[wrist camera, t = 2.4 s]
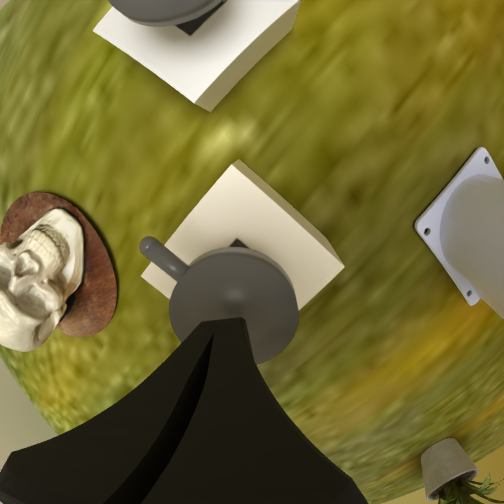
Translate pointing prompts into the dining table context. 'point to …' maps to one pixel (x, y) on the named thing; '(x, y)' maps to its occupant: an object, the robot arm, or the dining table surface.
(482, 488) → the house plant
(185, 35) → the square base with knob
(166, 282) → the off-white square plinth
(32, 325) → the skull
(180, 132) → the dining table surface
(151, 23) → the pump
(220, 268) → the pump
